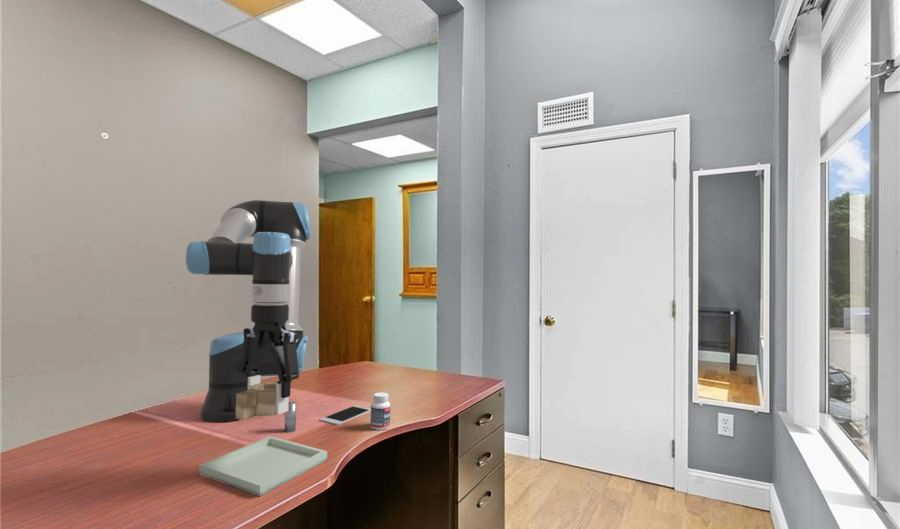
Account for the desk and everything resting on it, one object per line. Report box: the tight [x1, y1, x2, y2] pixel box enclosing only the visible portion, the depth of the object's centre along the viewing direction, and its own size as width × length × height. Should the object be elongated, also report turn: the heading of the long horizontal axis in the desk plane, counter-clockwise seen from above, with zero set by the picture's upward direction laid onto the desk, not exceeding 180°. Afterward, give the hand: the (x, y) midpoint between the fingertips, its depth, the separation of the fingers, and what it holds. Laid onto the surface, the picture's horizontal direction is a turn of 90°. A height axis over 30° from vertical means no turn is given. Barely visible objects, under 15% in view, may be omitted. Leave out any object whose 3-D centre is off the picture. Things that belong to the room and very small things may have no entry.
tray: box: [198, 435, 328, 497], centre depth 94 cm, size 18×18×2 cm
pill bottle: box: [370, 391, 391, 431], centre depth 119 cm, size 5×5×9 cm
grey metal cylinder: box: [283, 401, 297, 433], centre depth 115 cm, size 3×3×7 cm
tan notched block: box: [236, 381, 278, 421], centre depth 93 cm, size 11×8×5 cm
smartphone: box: [319, 404, 371, 426], centre depth 128 cm, size 7×15×1 cm, turn 151°
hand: (267, 409), depth 94 cm, fingers closed on tan notched block, 8 cm apart
